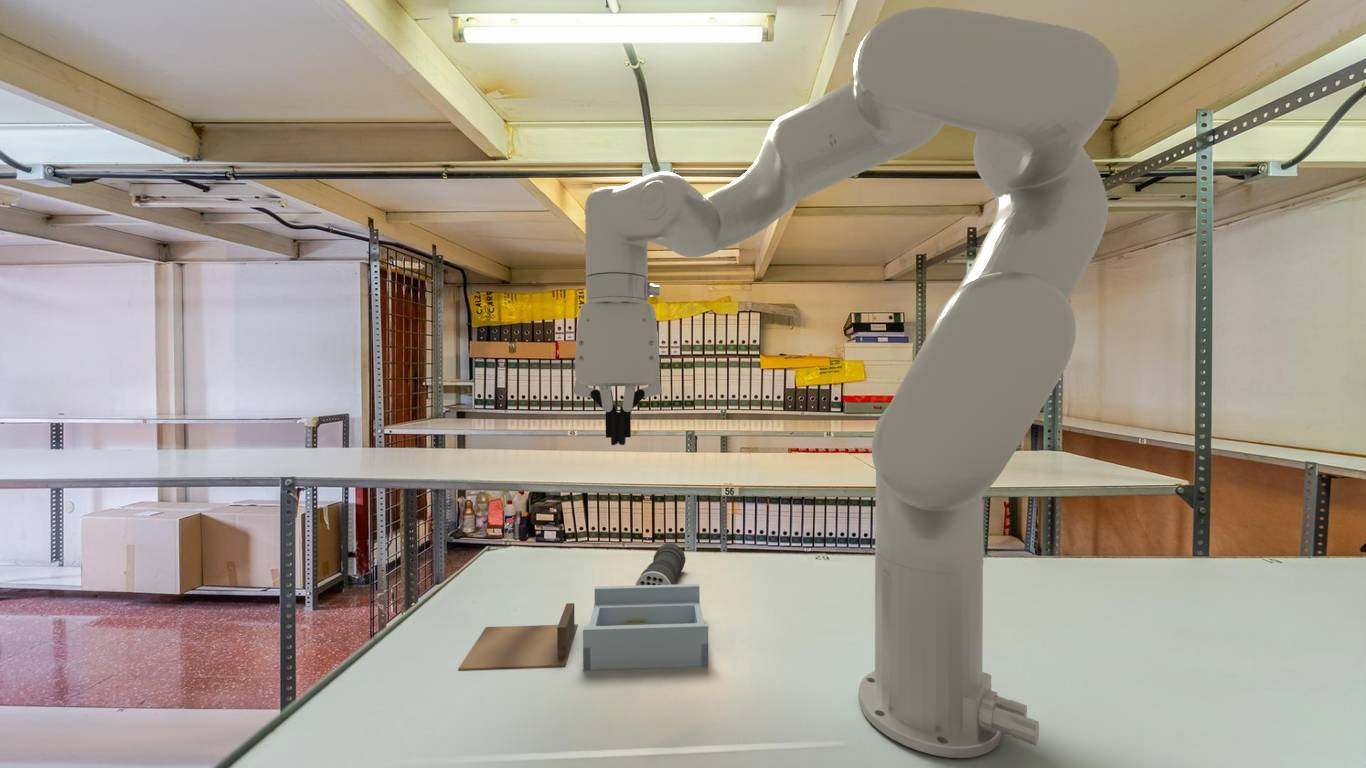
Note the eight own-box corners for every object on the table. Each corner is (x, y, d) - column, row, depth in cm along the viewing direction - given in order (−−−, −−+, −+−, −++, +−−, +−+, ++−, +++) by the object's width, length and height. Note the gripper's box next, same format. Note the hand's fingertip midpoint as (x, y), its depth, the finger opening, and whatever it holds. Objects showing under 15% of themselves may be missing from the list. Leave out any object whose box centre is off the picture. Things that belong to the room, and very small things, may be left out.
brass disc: (652, 626, 68) (652, 620, 68) (652, 643, 64) (652, 637, 64) (618, 627, 68) (618, 621, 68) (616, 644, 63) (616, 638, 63)
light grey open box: (699, 620, 71) (698, 583, 71) (708, 670, 59) (708, 626, 59) (595, 623, 70) (595, 586, 70) (583, 674, 58) (583, 629, 58)
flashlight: (656, 570, 90) (655, 539, 90) (687, 572, 89) (686, 540, 89) (634, 609, 75) (634, 571, 74) (671, 611, 74) (671, 573, 74)
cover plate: (577, 633, 68) (577, 597, 68) (565, 675, 59) (565, 634, 59) (486, 636, 68) (485, 600, 67) (458, 679, 58) (458, 637, 58)
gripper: (676, 299, 68) (677, 439, 68) (560, 298, 67) (562, 441, 67) (679, 289, 60) (680, 446, 61) (549, 288, 59) (551, 448, 60)
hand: (618, 443), depth 64 cm, fingers closed
